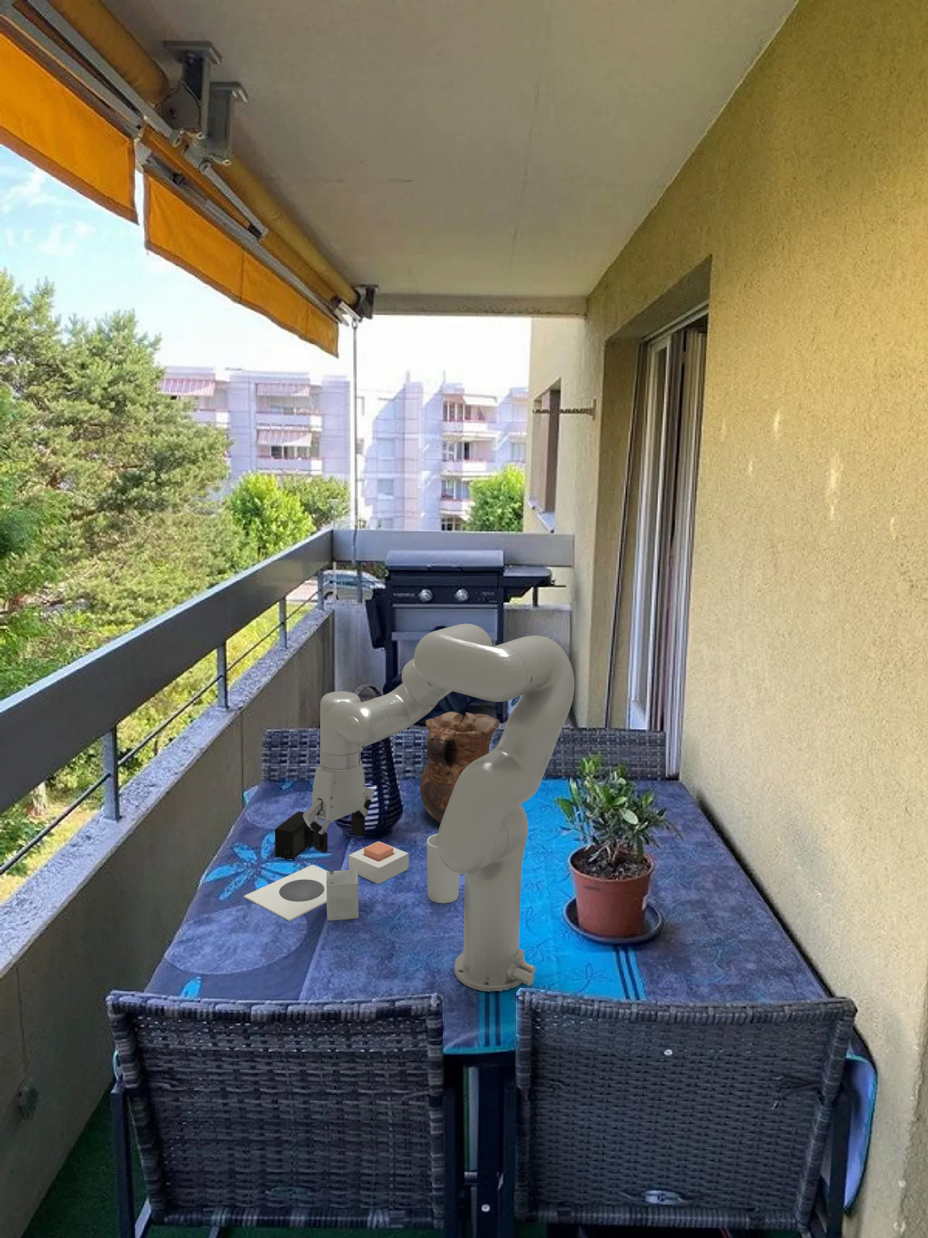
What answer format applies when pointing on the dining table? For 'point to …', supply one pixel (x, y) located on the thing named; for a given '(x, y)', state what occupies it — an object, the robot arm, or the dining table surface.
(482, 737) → the jug
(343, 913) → the skincare box
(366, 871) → the button housing
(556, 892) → the dining table surface
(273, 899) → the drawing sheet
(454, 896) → the mug
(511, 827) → the robot arm
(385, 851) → the button
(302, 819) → the digital camera
